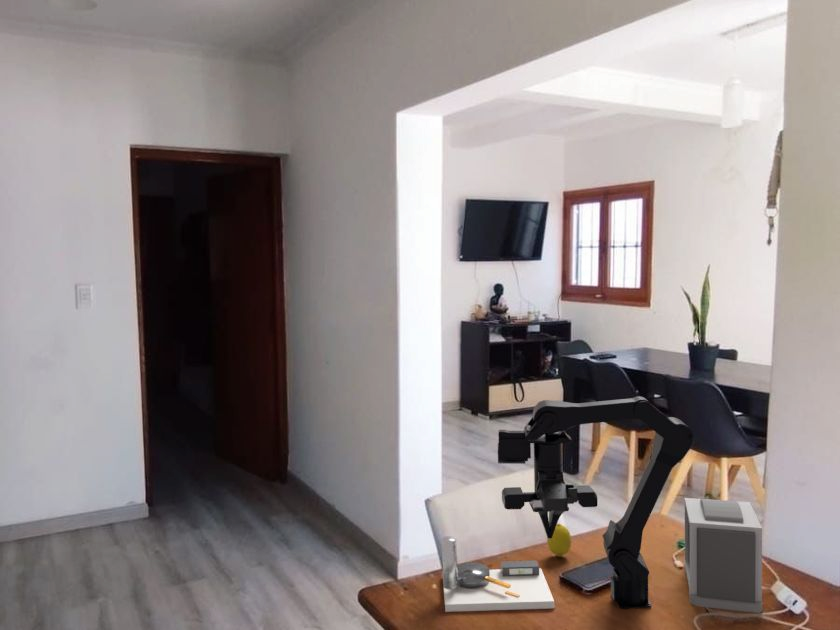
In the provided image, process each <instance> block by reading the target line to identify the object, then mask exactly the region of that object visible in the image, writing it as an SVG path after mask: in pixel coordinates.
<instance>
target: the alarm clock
mask: <svg viewBox="0 0 840 630" xmlns="http://www.w3.org/2000/svg"><path fill="white" fill-rule="evenodd" d="M684 572H685V576H686V578H687V583H688V595H689V601H690V602H689V603H690V604H691V605H693V606H694V607H700V608H709V609H711V608H712V609H719V610H720V609H721V610H728V611H729V610H730V611H736V612H737V611H738V612H745V613H746V612H747V613H755V614H758V613H761V612H763V600H762V599H763V596H762V595H763V583H762V582H763V578H762V577H763V527H762V525H761V523H760V521H759V519H758V517H757V514H756V512H755V510H754V509H753V506H752V504H751V502H750V501H737V500H724V499H723V500H722V499H708V498H693V497H691V498H690V497H684Z"/></svg>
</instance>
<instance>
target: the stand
mask: <svg viewBox="0 0 840 630" xmlns="http://www.w3.org/2000/svg"><path fill="white" fill-rule="evenodd" d="M489 572H490V577H491V578H493V579H496V580H499V581H502V582H505V583H508V584H511V587H510V588H509V589H508V588H505V587H502V586H499V585H497V584H494V583H491V582H489V583H488V584H486V585H485V586H482V587H478V588H465V587H461V586H458V587H457V588H455V589H446V588H444V587H443V597H444V609H445V613H446V612H450V613H451V612H478V611H483V612H485V611H509V610H510V611H512V610H514V611H516V610H542V609H546V610H547V609H555V600H554V597H553V595H552V592H551V590H550V587H549V585H548V582H547V580H546V577H545V575H544V572H543V570H542V568H541V567H540V565H539V563H538V560H517V561H515V560H512V561H510V560H509V561H500V569H497V568H495V569H489Z"/></svg>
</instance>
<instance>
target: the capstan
mask: <svg viewBox="0 0 840 630" xmlns="http://www.w3.org/2000/svg"><path fill="white" fill-rule="evenodd" d="M441 551H442V553H441V554H442V556H441V557H442V587H443V589H444V588H446V589H455V588H457V587H458V586H461V587H465V588H478V587H482V586H485V585H486V584H488V583H489V582H491V583H494V584H497V585H499V586H502V587H505V588H508V589H509V588H510V587H511V584H508V583H505V582H502V581H499V580H496V579H493V578H491V577H490V572H489V570H490V568H489V567H488V566H487V565H485V564H484V563H480V562H475V561H473V562H472V561H471V562H470V561H469V562H461V563H459V564H458V554H457V552H458V550H457V537H454V536H452V535H451V536H449V535H448V536H444V537H442V538H441Z"/></svg>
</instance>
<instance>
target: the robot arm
mask: <svg viewBox="0 0 840 630" xmlns="http://www.w3.org/2000/svg"><path fill="white" fill-rule="evenodd" d="M631 420H640V421H641V422H643V423H644V424H646V425H647V426H648V427H649V428H651V429H652V431H654V432H655V433H654V437H653V440H652V449H651V450H652V451H651V456H650V459H649V461H648V463H647V464H646V468H645V470H644V472H643V474H642V476H641V478H640V480H639V482H638V484H637V487H636V488H635V491H634V493H633V496H632V497H631V500H630V502H629V504H628V506H627V508H626V510H625V513H624V514H623V516H622V517H621V518H620V519H619V520H618V521H617V522H615V521H614V520H612V519H611V520H609V523H608V526H607V529H606V531H605V532H604V533H603V534H602V538H603V548H604V551H605V555H606V557H607V559H608V562H609V564H610V565H611V566H612V576H610V596H611V598H612V599H613V601H614V602H615V604H616V606H617V607H618V608H620V609H647V608H652V604H651V602H650V601H649V575H650V571H649V569H648V566H647V564H646V562H645V560H644V558H643V555H642V553H641V550H642V549H641V548H642V541H643V534H644V533H643V532H644V529H645V526H646V525H647V522H648V521H649V518H650V516H651V514H652V512H653V510H654V508H655V506H656V503H657V501H658V499H659V497H660V495H661V493H662V491H663V490H664V489H663V488H664V486H665V485H666V483H667V481H668V479H669V476H670V474H671V472H672V470H673V468H675V466H676V465H678V464H679V463H680V462H681V461H683V459H684V458H685V457H686V455H687V454H688V453H689V451H690V450H691V449H692V447H693V445H694V442H695V436H694V433H693V430H692V429H691V428H690V427H689V426H688V425H686V424H685V423H684V421H682V420H681V419H679V418H677V417H673V416H667V415H666V414H665V413H663V412H662V411H661V410H659V409H658V408H657V407H656V406H654V405H653V404H652V403H651V402H650V401H649V400H647V398H646V397H643V396H639V395H638V396H634V397H630V398H620V399H611V400H610V399H609V400H601V401H587V402H579V403H576V402H575V403H574V402H569V401H562V400H552V399H551V400H550V399H549V400H548V399H545V400H541V401H538V402H537V404H535V406H534V407H533V410H532V417H531V418H530V420H529V421H528V422H527V423H526V425H525V426H524V427H523V430H508V429H499V430H498V442H497V464H505V465H506V464H509V465H510V464H511V465H512V464H516V465H517V464H521V465H522V464H524V465H525V464H526V462H529V459H530V460H531V458H532V456H531V455H532V453H531V452H532V450H531V449H532V448H531V444H533V474H534V475H533V477H534V479H533V482H534V491H531V492H530V491H529V492H528V491H527V492H523V490H522V487H519V486H516V487H504V488H502V490H501V502H502V505H503V506H504V509H505V510H521V509H523V507H524V506H525V503H529V505H530V508H531V510H532V512H534V513H538V515H539V517H540V520H541V523H542V526H543V529H544V533H545V535H546V539H547V538H552V536H553V533H554V531H555V528H556V525H557V524H558V522H559V520H560V517H561V515H563V513H565V512H569V511H570V508H569V505H571V504H572V505H574V503H577V502H578V503H577V504H578V505H579V506H581V507H582V508H596V507H598V495H597V493H596V491H594V489H593V488H592V487H591V486H590V485H587V484H585V485H583V484H582V485H581V484H580V485H579V484H578V485H577V484H576V483H570V484H569V483H566V482H565V480H564V472H563V471H564V468H563V444H572V442H573V441H572V438H571V436H570V435H569V434H567V432H566V431H567V430H569V429H571V428H574V427H576V426H579V425H580V426H581V425H586V424H587V425H588V424H596V423H597V424H599V423H607V422H608V423H609V422H618V421H619V422H620V421H631Z"/></svg>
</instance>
